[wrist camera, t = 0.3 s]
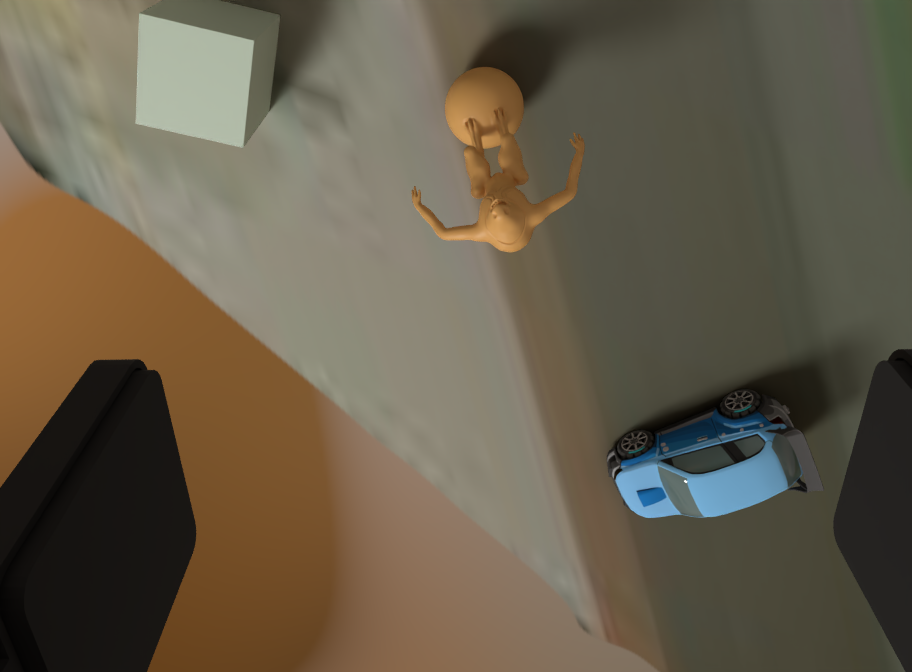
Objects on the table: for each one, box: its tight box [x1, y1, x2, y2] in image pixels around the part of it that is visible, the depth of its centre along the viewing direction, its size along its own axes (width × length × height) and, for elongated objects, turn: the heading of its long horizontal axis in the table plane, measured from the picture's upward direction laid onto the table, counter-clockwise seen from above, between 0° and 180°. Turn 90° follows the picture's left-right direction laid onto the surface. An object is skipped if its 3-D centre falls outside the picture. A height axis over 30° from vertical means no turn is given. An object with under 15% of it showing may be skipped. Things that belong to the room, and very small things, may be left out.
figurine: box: [412, 67, 585, 252], centre depth 39 cm, size 8×6×12 cm
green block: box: [136, 0, 280, 148], centre depth 40 cm, size 5×5×6 cm
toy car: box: [607, 389, 824, 518], centre depth 53 cm, size 6×12×6 cm, turn 117°
